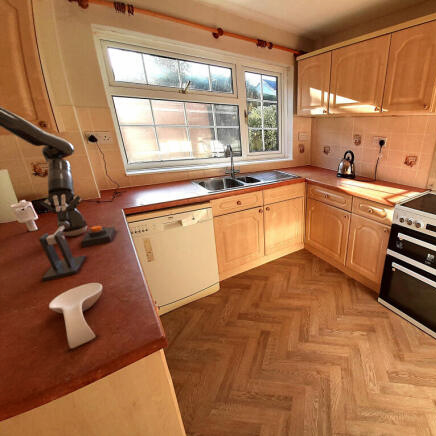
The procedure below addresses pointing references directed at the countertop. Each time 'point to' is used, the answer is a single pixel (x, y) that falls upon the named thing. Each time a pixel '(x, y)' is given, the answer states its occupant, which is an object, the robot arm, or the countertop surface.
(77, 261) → the lever bracket
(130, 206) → the countertop surface
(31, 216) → the white stemmed block
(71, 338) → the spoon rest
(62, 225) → the lever
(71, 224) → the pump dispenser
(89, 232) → the grey control base
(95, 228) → the power button
